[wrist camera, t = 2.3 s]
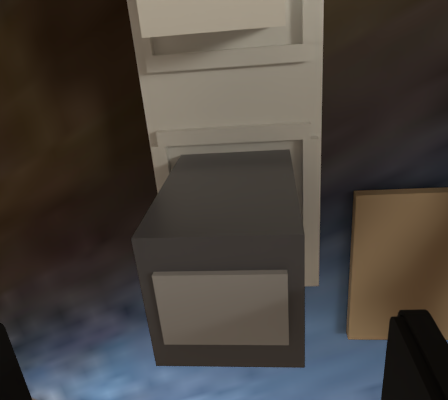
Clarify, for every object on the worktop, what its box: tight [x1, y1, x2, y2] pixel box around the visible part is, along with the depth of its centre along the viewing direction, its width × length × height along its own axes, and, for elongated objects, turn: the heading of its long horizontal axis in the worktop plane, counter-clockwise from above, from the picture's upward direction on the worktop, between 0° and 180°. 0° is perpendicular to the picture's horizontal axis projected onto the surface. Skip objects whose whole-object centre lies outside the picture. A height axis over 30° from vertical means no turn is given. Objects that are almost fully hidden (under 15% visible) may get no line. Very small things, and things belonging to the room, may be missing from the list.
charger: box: [131, 149, 305, 368], centre depth 14 cm, size 4×4×7 cm
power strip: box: [127, 0, 324, 286], centre depth 15 cm, size 18×7×7 cm, turn 5°
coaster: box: [346, 187, 448, 340], centre depth 21 cm, size 9×9×1 cm
